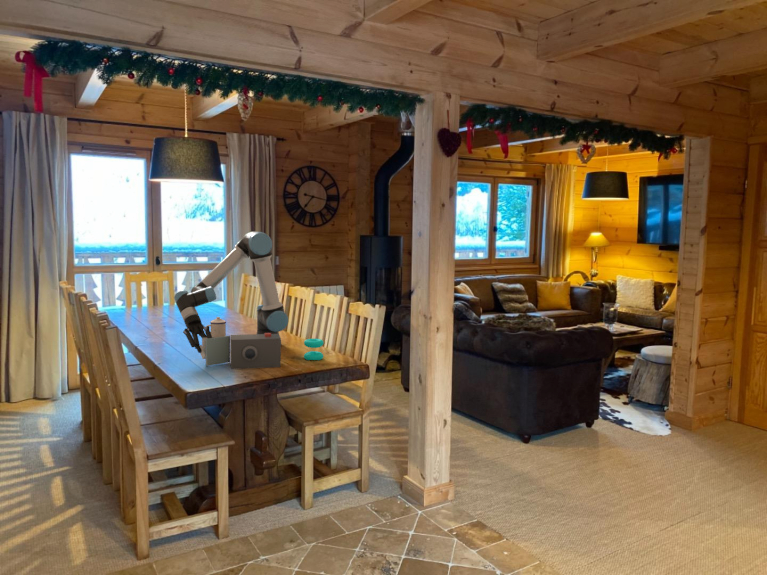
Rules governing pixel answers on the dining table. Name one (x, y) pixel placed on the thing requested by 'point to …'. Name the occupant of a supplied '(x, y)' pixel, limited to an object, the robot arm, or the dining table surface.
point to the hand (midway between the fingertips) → (208, 356)
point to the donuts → (312, 344)
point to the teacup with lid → (218, 327)
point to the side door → (216, 350)
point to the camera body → (255, 351)
